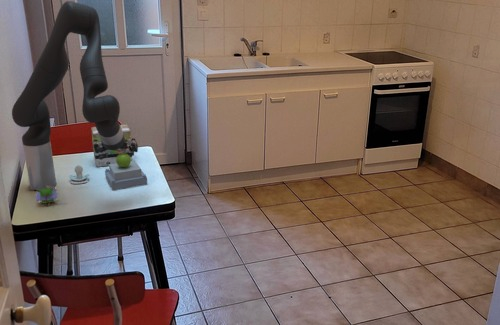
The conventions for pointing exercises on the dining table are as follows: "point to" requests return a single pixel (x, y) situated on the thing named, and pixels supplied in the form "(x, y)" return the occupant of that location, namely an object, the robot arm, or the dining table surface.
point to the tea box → (112, 154)
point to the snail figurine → (123, 158)
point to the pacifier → (79, 176)
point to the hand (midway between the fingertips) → (119, 155)
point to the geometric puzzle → (46, 195)
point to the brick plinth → (126, 181)
